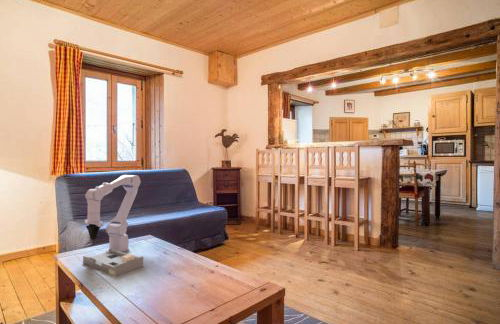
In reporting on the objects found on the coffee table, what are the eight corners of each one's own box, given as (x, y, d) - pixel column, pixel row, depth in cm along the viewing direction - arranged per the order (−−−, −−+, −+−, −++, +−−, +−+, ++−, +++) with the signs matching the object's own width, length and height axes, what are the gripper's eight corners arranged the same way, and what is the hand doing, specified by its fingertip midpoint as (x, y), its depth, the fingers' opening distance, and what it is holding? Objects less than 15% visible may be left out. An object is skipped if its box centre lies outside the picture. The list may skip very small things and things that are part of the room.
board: (110, 255, 154) (110, 246, 154) (143, 266, 138) (143, 256, 138) (83, 263, 142) (83, 253, 142) (115, 276, 127) (115, 265, 127)
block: (129, 262, 138) (129, 254, 138) (134, 264, 136) (134, 255, 136) (121, 264, 135) (121, 256, 135) (126, 266, 132) (126, 258, 132)
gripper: (78, 212, 148) (77, 238, 148) (93, 215, 140) (92, 243, 140) (92, 210, 154) (91, 235, 154) (107, 213, 146) (106, 240, 146)
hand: (93, 239), depth 147 cm, fingers closed
